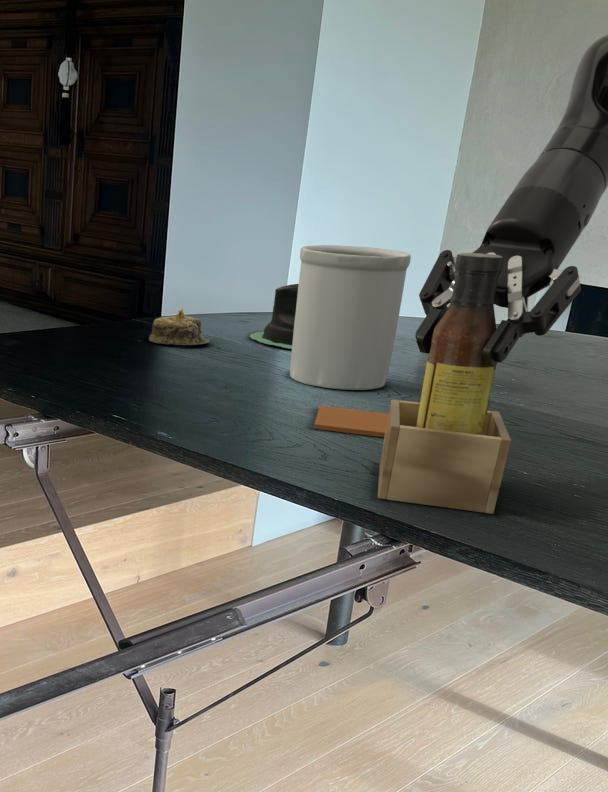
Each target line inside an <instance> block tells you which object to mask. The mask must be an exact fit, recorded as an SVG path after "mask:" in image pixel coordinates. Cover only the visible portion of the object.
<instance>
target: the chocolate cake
mask: <svg viewBox="0 0 608 792" xmlns="http://www.w3.org/2000/svg"><path fill="white" fill-rule="evenodd" d="M298 285H299V283H292V284H287V285H283V286H280V287H277V288H275V291H274V301H273V307H272V308H273V309H272V316H271V320H270V322H269V323H268V324H266V325H265V327H264V329H263V331H259V332H258V331H257V332H254V333H250V335H249V338H251V339H252V340H255V341H257V342H258V343H262V344H265V345H270V346H271V345H272V346H276V347H281V348H284V349H289V350H290V349H291V350H292V344H293V333H294V323H295V314H296V305H297V295H298Z"/></svg>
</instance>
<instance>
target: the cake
mask: <svg viewBox="0 0 608 792" xmlns="http://www.w3.org/2000/svg"><path fill="white" fill-rule="evenodd" d="M151 330H152V331H151V334H149V337H148V341H149V342H151V343H155V344H163V345H176V346H197V345H204V344H208V343H211V340H209V339H208V338H207V339H206V338H204V337H203V335H202V333H203V330H202V321H201V319H199V318H197V317H196V318H195V317H193V316H187V315H185V314H184V309H183V308H181V309H180V310H178V313H177V314H175V315H170V316H161V317H157V318H155V319H154V320H153V322H152V327H151Z"/></svg>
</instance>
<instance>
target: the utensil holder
mask: <svg viewBox="0 0 608 792" xmlns="http://www.w3.org/2000/svg"><path fill="white" fill-rule="evenodd" d="M411 258H412V256H411V254H410V253H408V252H405V251H399V250H393V249H388V248H379V247H370V246H355V245H335V244H314V245H304V246H301V248H300V251H299V259H300V269H299V277H298V284H299V285H298V295H297V305H296V314H295V323H294V333H293V344H292V349H291V356H290V368H289V369H290V371H289V376H290V378H291V379H292V380H294V381H297V382H299V383H301V384H305V385H309V386H312V387H313V386H314V387H319V388H324V389H325V388H326V389H330V390H331V389H332V390H333V389H334V390H344V391H367V390H375V389H380V388H383V387H385V385H386V384H387V379H388V375H389V374H388V373H389V370H390V364H391V361H392V355H393V350H394V346H395V345H394V344H395V341H396V335H397V329H398V324H399V317H400V311H401V305H402V300H403V295H404V294H403V293H404V288H405V280H406V275H407V270H408V268H409V266H410V263H411V260H412V259H411Z"/></svg>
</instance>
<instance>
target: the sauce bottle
mask: <svg viewBox="0 0 608 792" xmlns="http://www.w3.org/2000/svg"><path fill="white" fill-rule="evenodd" d="M456 257H457V258H456V263H455V271H456V277H455V283H454V289H453V294H452V297H451V302H450V303H449V304H448V307H449V308H448V309H447V311H446V313H445V315H444V316H443V317H442V319H441V320H440V321H439V322H438V324H437V325H436V326H435V328H434V332H433V335H432V339H431V341H432V342H431V348H430V353H428V359H427V360H426V365H425V371H424V377H423V383H422V387H421V388H422V389H421V395H420V400H419V403H420V406H419V412H418V419H417V424H416V427H420V428H428V429H436V430H444V431H453V432H461V433H469V434H477V435H483V431H484V426H485V420H486V415H487V411H489V406H490V401H491V399H490V398H491V395H492V389H493V385H494V378H495V374H496V369H497V365H496V366H495V367H489V366H486V365H485V363H484V359H483V356H482V352H483V349H484V347H485V346H486V344H487V343H488V341H489V340H490V338H491V337H492V335H493V333H494V332H495V330H496V329H497V322H496V314H495V304H494V297H495V292H496V287H497V282H498V276H499V275H500V273H501V271H502V266H503V257H502V256H499V255H491V254H480V253H473V252H460V253H457V254H456Z"/></svg>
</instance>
